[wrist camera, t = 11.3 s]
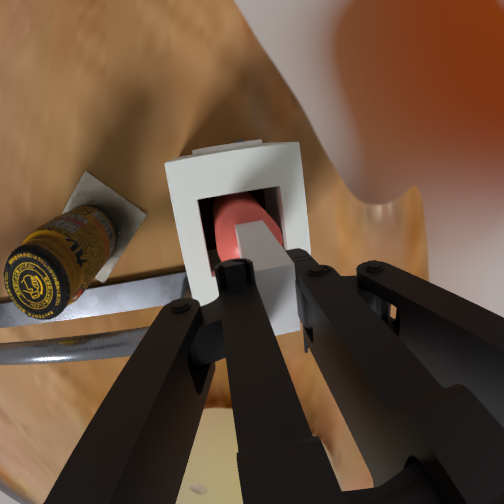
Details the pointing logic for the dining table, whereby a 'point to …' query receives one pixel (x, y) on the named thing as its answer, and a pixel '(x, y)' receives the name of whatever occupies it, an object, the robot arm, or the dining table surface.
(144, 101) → the dining table surface
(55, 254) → the condiment
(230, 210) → the plunger
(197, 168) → the cabinet
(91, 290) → the handrail
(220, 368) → the dining table surface
